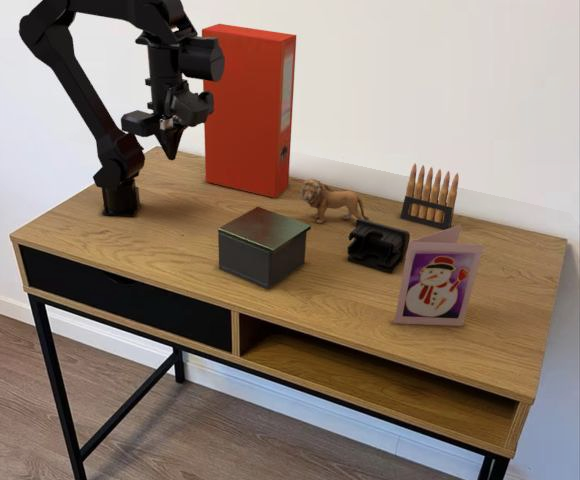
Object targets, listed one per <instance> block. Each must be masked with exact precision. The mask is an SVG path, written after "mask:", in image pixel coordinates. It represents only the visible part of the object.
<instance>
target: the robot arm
mask: <svg viewBox="0 0 580 480" xmlns="http://www.w3.org/2000/svg"><path fill="white" fill-rule="evenodd" d="M77 13H79V14H85V15H90V16H96V17H100V18H101V17H102V18H108V19H114V20H120V21H124V22H127V23H129V24H131V26H133V27H135V28H136V29H139V30H140V31H142V32H141V33H140V34H139V35H138V37H137V38H136V39H134V43H135V44H136V45H141V46H146V50H147V59H148V61H147V63H148V73H149V77H148V78H144V85H145V86H147V87H150V98H151V101H149V102H146V106H147V107H146V108H147V110H151V111H152V112H151V113H149V112H146V111H143V110H139V109H136V110H133V111H130V112H127V113H124V114H123V115H122V116H121V117H120V125H121V126H120V127H121V128H119V126H118V125H117V124H116V122H115V121H114V119H113V117H112V115H111V114H110V112H109V111H108V109H107V107H106V105H105V104H104V102H103V101H102V99H101V97H100V96H99V94H98V92H97V90H96V89H95V87H94V85H93V84H92V82H91V80H90V79H89V77H88V76H87V74H86V72H85V70H84V69H83V67H82V65H81V63H80V61H79V60H78V59H77V56H76V53H75V47H74V37H73V35H72V33H71V31H70V29H69V28H70V27H71V25H72V24H73V23H74V22H75V19H76V16H77ZM18 28H19V29H18V36H19V37H20V39H21V41H22V43H23V44H24V45H25V46H26V47H27V49H28V50H29V51H30V52H31V54H32V55H33V57H34V58H36V59H37V60H38V61H40V62H42V63H43V64H44V65H46V66H47V67H49V68H50V69H51V71H52V72H53V73H54V75H55V77H56V79H57V80H58V82H59V83H60V85H61V86H62V88H63V89H64V92H65V93H66V94H67V96H68V97H69V99H70V101H71V102H72V104H73V106H74V107H75V110H77V112H78V114H79V115H80V117H81V118H82V120H83V122H84V123H85V125H86V127H87V129H88V130H89V131H90V133H91V135H92V136H93V138H94V140H95V144H96V153H97V158H98V160H99V164H100V165H101V167H100V168H99V170H97V171H96V173H94V174H93V176H92V179H93V182H94V184H95V186H96V187H97V188H100V189H101V194H102V201H103V210H102V212H101V214H102V216H115V217H130V218H131V217H134V216H135V215H136V213H137V211H138V210H139V209H140V207H141V198H140V192H139V191H140V190H139V187H138V186H137V185H136V179H135V178H137V177H139V176H140V172H141V170H142V169H144V167H145V162H146V156H145V153H144V150H145V148H144V147H143V146H142V145H141V143H140V142H139V141H138V138H137V137H141V138H149V137H151V136H154V137H155V138H156V140H157V142H158V144H159V145H160V147H161V148H162V151H163V152H164V154H165V156H166V158H167V160H169V161H175V160H176V157H177V154H178V150H179V148H180V147H179V146H180V143H181V139H182V137H183V134H184V132H185V130H186V129H188V128H195V127H198V125H201V124H204V123H206V121H207V117H208V115H210V114H213V112H214V108H213V107H214V97H213V94H212V93H211V92H210V91H208V90H207V91H204V92H203V91H201V92H200V93H198V92H192V91H190V83H189V80H188V79H189V78H190V79H195V80H202V81H203V80H207V81H213V82H218V81H219V80H220V79H221V78H222V75H223V72H224V67H225V57H224V56H223V51H222V48H221V47H220V46H219V39H218V38H216V37H202V36H198V35H199V33H198V30H197V29H196V28H195V25H193V23H192V21H191V20H190V17H189V16H188V15H187V13H186V11H185V9H184V5H183V2H182V0H41V1H40V2H39V3H37V5H35V6H34V7H33V8H32V9H31V10H30V12H29V13H28V14H25V15H23V16H21V18H20V19H19V24H18ZM174 29H177V30H175V31H173V30H174ZM183 75H184V77H186V78H187V79H185V78H183Z"/></svg>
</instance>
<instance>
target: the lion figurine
mask: <svg viewBox="0 0 580 480" xmlns="http://www.w3.org/2000/svg"><path fill="white" fill-rule="evenodd" d="M300 196H301V199H302V201H304V202H305V203H307V204H309V207H311V208H313V209H316V210H317V212H316V213H315V214H314V216H313V217H314V218H316V219H317V220H316V223H318V224H323V223H324V220H325V214H326V211H327V209H333V210H338V209H340V208H343V207H346V208H347V210H348V212H347V214H343V216H342V218H343V219H344V220H348V219H350V217H352V216H353V217H355V218H356V220H358V219H363V220H367V221H370V218H369V217H368V216H366V215H365V211H364V210H365V209H364V203H363V201H362V199H361V197H360V195H359V194H357V193H356V192H354V191H352V190H344V191H337V190H333V189H331V188H330V187H329V185H327V184H324V183H322V182H321V181H320V180H317V179H315V178H313V179H312V178H310V179H309V178H307V179H306V180H304V182H302V183H301V190H300ZM358 205H359V208H358ZM359 209H360V212H359ZM354 224H355V226H356V222H355V223H354Z"/></svg>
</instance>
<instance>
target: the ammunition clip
mask: <svg viewBox="0 0 580 480" xmlns="http://www.w3.org/2000/svg"><path fill="white" fill-rule="evenodd" d="M425 169H426V168H425V165H422V166H421V167H420V169H419V172H418V175H417V170H418V169H417V163H414V164H413V165H412V167H411V170H410V174H409V178H408V181H407V186H406V191H405V196H404V200H403V202H402V203H403V204H402V209H401V213H400V219H402V220H406V221H408V222H409V221H410V222H413V223H417V224H421V225H424V226H428V227H432V228H436V229H440V230H446V229H449V228H452V224H453V219H454V211H455V206H456V205H455V204H456V201H457V196H458V186H459V177H460V176H459V172H456V173H455V175H454V177H453V179H452V182H451V186H450V181H451V172H450V170H448V171H447V172H446V174H445V176H444V178H443V182H441V181H442V170H441V168H439V169H438V171H437V173H436V175H435V177H434V168H433V167H432V166H431V167H430V168H429V170H428V172H427V176H426V179H425V174H426V170H425ZM417 176H418V177H417ZM433 177H434V182H433ZM441 183H442V186H441ZM449 187H450V189H449Z"/></svg>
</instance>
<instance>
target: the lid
mask: <svg viewBox="0 0 580 480" xmlns="http://www.w3.org/2000/svg"><path fill="white" fill-rule="evenodd" d="M311 229H312V225H311V224H308V223H305V222H302V221H299V220H297V219H294V218H292V217H288V216H286V215H283V214H280V213H277V212H275V211H271V210H269V209H266V208H264V207H262V206H261V207H260V206H256V207H254V208H252V209H250V210H249V211H247V212H245V213H243V214H242V215H240V216H238V217H236V218H234V219H232V220H231V221H229V222H227V223H225V224H223V225H221V226H220V227H218V228H217V233H221V234H224V235H226V236H229V237H232V238H234V239H237V240H239V241H242V242H244V243H247V244H249V245H252V246H255V247H257V248H260V249H262V250H265V251H267V252H270V253H272V254H273V253H275V252H277V251H278V250H280V249H281V248H283V247H284V246H286V245H287V244H289V243H290V242H292V241H293V240H295V239H296V238H298V237H300V236H301V235H303V234H304V233H306V232H309V231H311Z"/></svg>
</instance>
